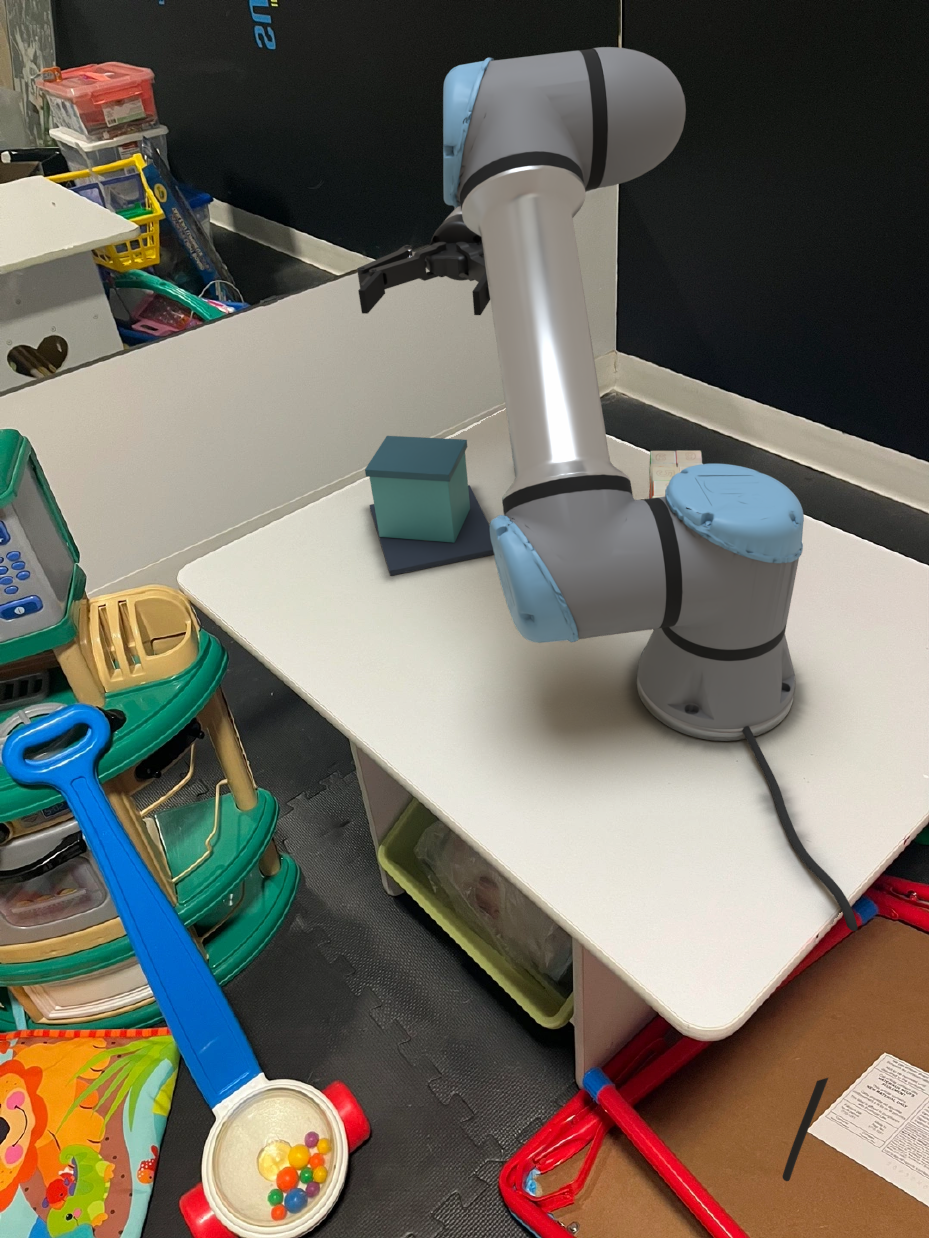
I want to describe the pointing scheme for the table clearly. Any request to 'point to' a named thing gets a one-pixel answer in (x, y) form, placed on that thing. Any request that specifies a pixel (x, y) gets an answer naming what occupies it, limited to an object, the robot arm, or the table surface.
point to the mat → (439, 544)
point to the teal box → (420, 488)
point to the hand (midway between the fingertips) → (418, 303)
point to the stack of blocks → (668, 468)
